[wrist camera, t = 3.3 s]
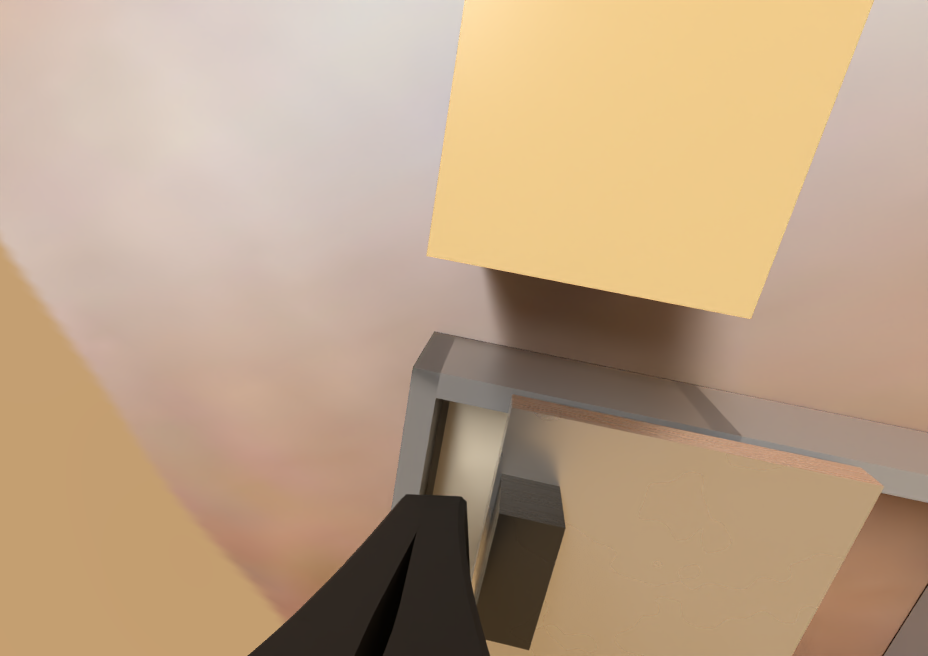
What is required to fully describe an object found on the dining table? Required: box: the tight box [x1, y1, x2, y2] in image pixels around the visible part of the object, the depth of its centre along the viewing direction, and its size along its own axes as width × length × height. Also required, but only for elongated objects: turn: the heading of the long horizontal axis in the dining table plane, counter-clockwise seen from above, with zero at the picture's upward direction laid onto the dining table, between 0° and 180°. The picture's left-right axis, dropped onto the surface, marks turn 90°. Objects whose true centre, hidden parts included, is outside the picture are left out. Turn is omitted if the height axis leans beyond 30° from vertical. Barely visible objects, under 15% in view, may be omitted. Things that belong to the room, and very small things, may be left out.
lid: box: [470, 394, 884, 656], centre depth 10 cm, size 7×9×2 cm
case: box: [391, 332, 928, 656], centre depth 12 cm, size 16×9×3 cm, turn 80°
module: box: [427, 0, 874, 319], centre depth 8 cm, size 4×4×6 cm
